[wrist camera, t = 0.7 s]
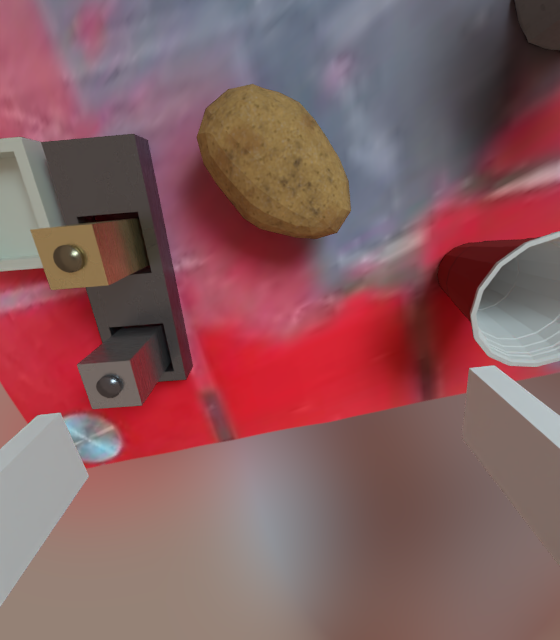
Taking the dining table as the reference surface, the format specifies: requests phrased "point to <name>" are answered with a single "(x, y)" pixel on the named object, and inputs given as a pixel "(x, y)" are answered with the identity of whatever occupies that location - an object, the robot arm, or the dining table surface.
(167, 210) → the dining table surface
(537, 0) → the coffeepot
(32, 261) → the parts tray
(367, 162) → the dining table surface
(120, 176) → the rail
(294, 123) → the potato
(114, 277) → the block with metal knob
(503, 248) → the plastic cup
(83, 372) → the square rod with stud
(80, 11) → the dining table surface
